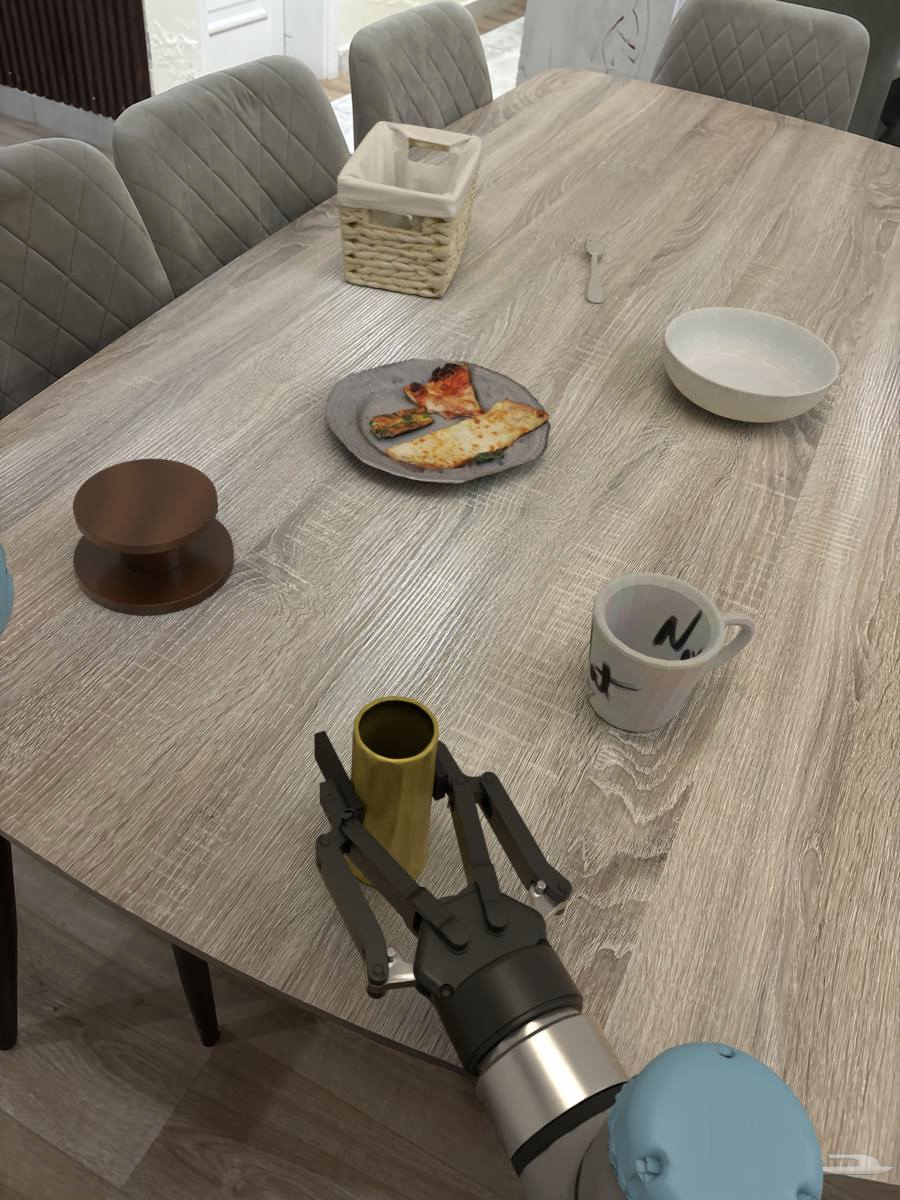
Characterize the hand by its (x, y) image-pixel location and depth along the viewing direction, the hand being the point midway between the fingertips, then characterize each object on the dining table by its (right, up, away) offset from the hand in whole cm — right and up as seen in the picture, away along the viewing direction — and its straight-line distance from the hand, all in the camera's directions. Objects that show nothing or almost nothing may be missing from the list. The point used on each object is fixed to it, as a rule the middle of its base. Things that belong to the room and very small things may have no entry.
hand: (360, 730), depth 65 cm
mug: (+24, +1, +15) cm, 28 cm away
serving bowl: (+42, +34, +52) cm, 75 cm away
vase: (+2, -9, +2) cm, 9 cm away
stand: (-21, +13, +21) cm, 32 cm away
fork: (+27, +58, +74) cm, 98 cm away
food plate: (+5, +28, +41) cm, 50 cm away
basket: (0, +58, +71) cm, 92 cm away
